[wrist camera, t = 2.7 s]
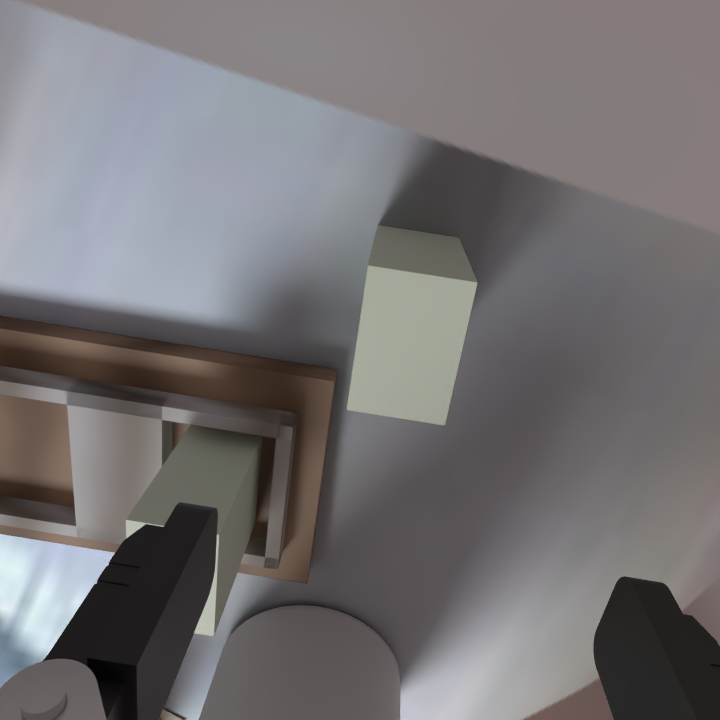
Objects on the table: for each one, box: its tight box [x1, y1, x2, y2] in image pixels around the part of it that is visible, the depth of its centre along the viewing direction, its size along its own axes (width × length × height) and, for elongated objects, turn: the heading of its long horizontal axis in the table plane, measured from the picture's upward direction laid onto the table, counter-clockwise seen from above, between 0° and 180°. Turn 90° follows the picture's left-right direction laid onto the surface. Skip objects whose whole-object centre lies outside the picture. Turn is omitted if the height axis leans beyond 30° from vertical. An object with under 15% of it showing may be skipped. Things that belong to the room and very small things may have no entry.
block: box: [126, 425, 262, 636], centre depth 29 cm, size 4×6×8 cm, turn 172°
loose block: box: [347, 225, 478, 426], centre depth 26 cm, size 4×6×8 cm, turn 172°
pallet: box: [0, 316, 337, 584], centre depth 33 cm, size 22×14×3 cm, turn 82°
